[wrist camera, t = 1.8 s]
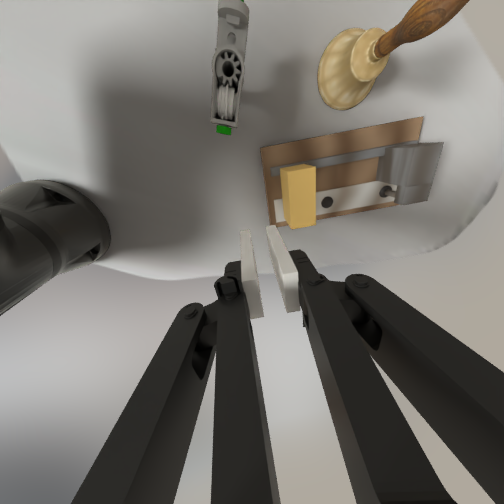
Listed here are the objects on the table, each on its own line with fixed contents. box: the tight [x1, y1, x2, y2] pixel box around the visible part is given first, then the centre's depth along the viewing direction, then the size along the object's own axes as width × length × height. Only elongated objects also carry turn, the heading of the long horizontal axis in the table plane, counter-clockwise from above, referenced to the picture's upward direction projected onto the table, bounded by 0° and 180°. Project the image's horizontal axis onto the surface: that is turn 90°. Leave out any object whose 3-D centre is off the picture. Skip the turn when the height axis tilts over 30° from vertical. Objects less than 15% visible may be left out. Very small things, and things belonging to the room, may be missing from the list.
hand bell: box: [318, 0, 469, 110], centre depth 19 cm, size 8×8×16 cm
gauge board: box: [260, 116, 444, 227], centre depth 29 cm, size 24×13×8 cm, turn 100°
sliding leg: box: [280, 164, 316, 229], centre depth 28 cm, size 4×8×6 cm, turn 10°
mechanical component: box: [211, 0, 249, 135], centre depth 22 cm, size 3×10×10 cm, turn 171°
